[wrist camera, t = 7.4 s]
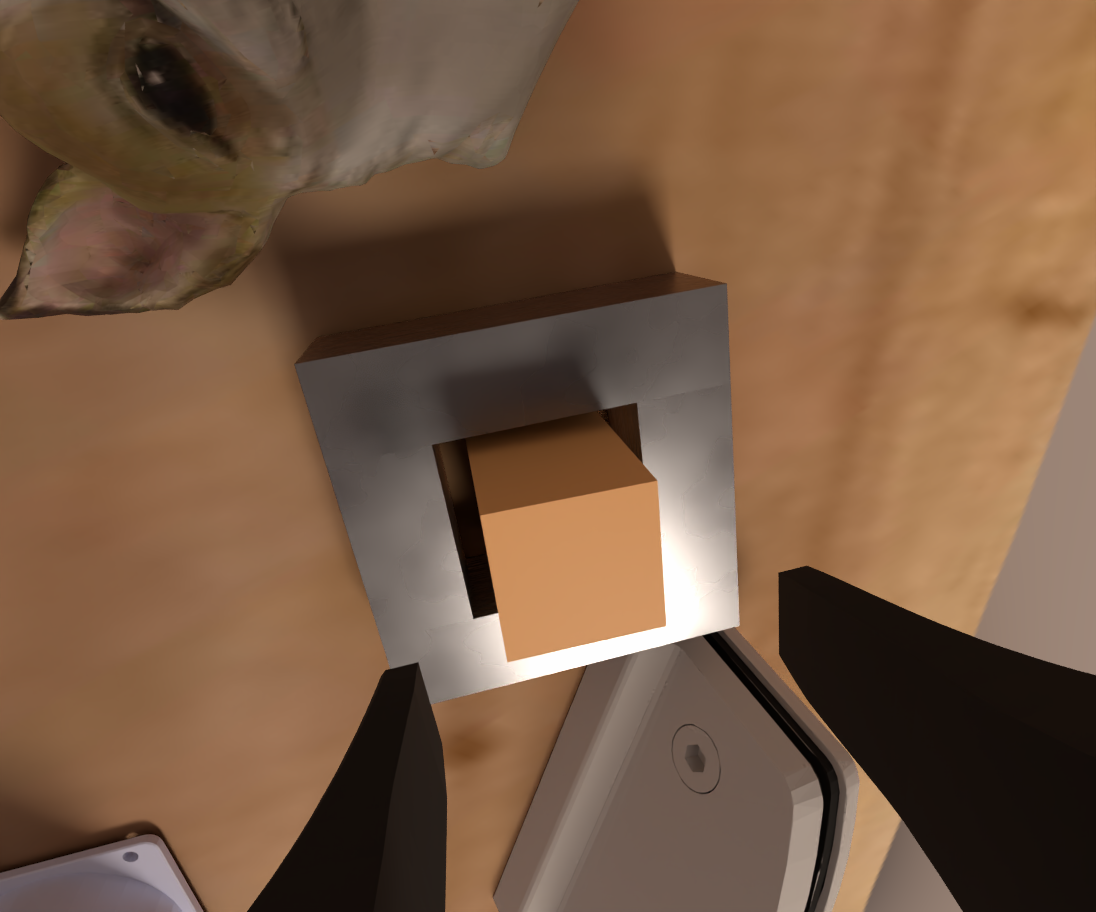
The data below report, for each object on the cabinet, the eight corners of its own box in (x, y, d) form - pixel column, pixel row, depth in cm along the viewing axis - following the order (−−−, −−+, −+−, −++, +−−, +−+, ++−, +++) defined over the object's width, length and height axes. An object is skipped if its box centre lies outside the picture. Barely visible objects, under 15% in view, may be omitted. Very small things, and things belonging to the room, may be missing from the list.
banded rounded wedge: (616, 593, 23) (845, 826, 16) (702, 589, 26) (932, 786, 18) (490, 904, 28) (617, 1198, 21) (573, 874, 31) (713, 1123, 23)
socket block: (406, 639, 22) (403, 711, 19) (317, 337, 18) (294, 364, 15) (696, 569, 24) (739, 626, 20) (676, 272, 19) (726, 283, 16)
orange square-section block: (481, 527, 21) (507, 662, 15) (461, 417, 20) (480, 515, 13) (594, 504, 22) (666, 626, 15) (583, 396, 20) (657, 480, 14)
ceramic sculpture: (701, 213, 10) (-237, 420, 10) (597, 212, 18) (82, 324, 18) (591, -928, 6) (-1052, -695, 6) (519, -283, 14) (-154, -159, 14)
